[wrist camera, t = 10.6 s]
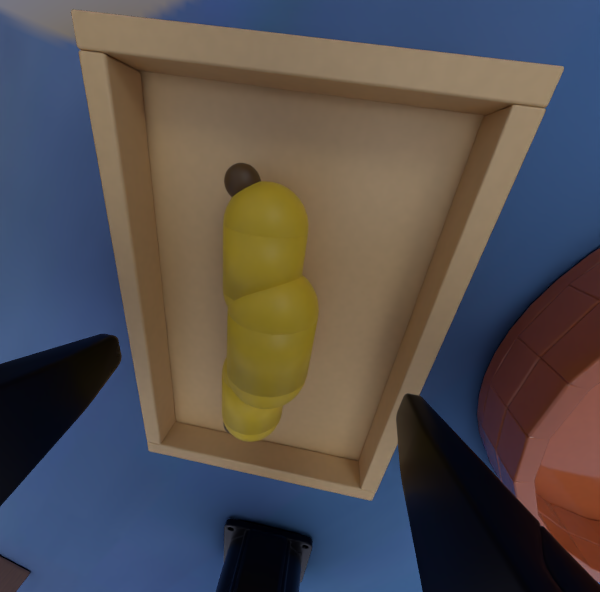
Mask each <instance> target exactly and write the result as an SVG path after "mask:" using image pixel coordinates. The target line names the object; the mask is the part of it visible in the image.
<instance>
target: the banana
mask: <svg viewBox="0 0 600 592" xmlns="http://www.w3.org/2000/svg"><path fill="white" fill-rule="evenodd" d="M224 185H225V188H226V190H227V192H228V194H229V195H230V196H231V197H232V198H231V200H230V202H229V203H228V205H227V207H226V210H225V213H224V220H223V296H224V299H225V302H226V305H227V307H228V316H227V357H226V359H225V361H224V364H223V370H222V417H223V426H224V429H225V430H226V432H228V433H229V434H232V435H233V436H234V437H235V438H237V439H239V440H242V441H246V442H255V441H259V440H261V439H264V438H265V437H267V436H268V435H270V434H271V433H272V432H273V431H274V430H275V428H276V426H277V425H278V423H279V421H280V418H281V415H282V409H283V405H285V404H287V403H289V402H290V401H291V400H292V399H294V398H295V397H296V396H297V395H298V393H299V392H300V390H301V389H302V387H303V386H304V383H305V380H306V378H307V374H308V369H309V363H310V358H311V353H312V347H313V342H314V337H315V331H316V326H317V321H318V312H319V307H318V299H317V296H316V293H315V291H314V288H313V287H312V285H311V284H310V282H309V281H308V280H307V279H306V278H305V277H304V276H303V275H302V272H303V265H304V258H305V251H306V244H307V237H308V217H307V213H306V210H305V208H304V206H303V204H302V202H301V201H300V199H299V198H298V197H297V196H296V195H295V194H294V193H293V192H292V191H291V190H289V189H288V188H287V187H285V186H283V185H281V184H278V183H274V182H267V181H261V179H260V176H259V174H258V172H257V171H256V169H255V168H254V167H252V166H251V165H249V164H246V163H236V164H234V165H232V166H231V167H229V168H228V170H227V171H226V174H225V177H224Z"/></svg>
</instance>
